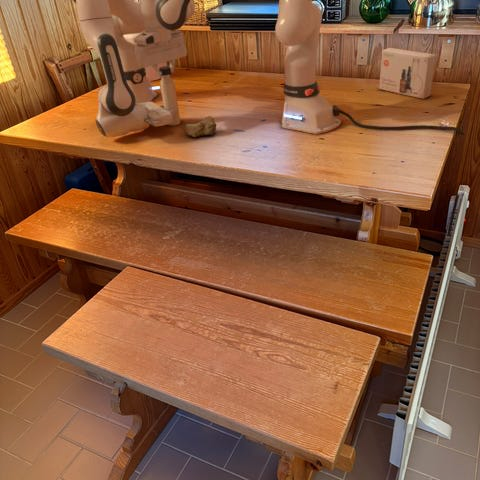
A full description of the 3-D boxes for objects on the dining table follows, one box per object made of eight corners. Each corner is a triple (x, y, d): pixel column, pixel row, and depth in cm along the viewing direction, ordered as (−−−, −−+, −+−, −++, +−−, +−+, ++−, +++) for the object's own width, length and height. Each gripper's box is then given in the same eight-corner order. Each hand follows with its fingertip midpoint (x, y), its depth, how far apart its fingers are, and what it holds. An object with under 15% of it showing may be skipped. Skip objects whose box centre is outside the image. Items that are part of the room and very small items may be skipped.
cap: (158, 73, 172) (157, 67, 171) (169, 71, 174) (168, 65, 172) (161, 76, 169) (160, 69, 168) (172, 74, 170) (171, 67, 169)
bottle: (168, 121, 185) (158, 68, 173) (181, 120, 184) (172, 67, 173) (166, 126, 180) (156, 72, 169) (179, 125, 180) (171, 71, 168)
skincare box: (377, 89, 194) (381, 50, 185) (385, 86, 197) (389, 47, 188) (423, 99, 180) (429, 56, 171) (430, 95, 183) (437, 53, 174)
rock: (185, 134, 174) (189, 139, 165) (182, 117, 171) (186, 121, 162) (213, 129, 176) (218, 134, 167) (210, 112, 173) (216, 117, 164)
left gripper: (149, 116, 165) (183, 106, 170) (129, 102, 179) (161, 94, 185) (152, 133, 168) (186, 123, 174) (132, 118, 183) (164, 110, 188)
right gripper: (177, 28, 171) (182, 66, 179) (129, 39, 160) (137, 79, 168) (187, 29, 167) (192, 68, 175) (139, 41, 156) (147, 82, 164)
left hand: (173, 108), depth 179 cm, fingers closed on bottle, 5 cm apart
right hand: (165, 74), depth 171 cm, fingers closed on cap, 4 cm apart
